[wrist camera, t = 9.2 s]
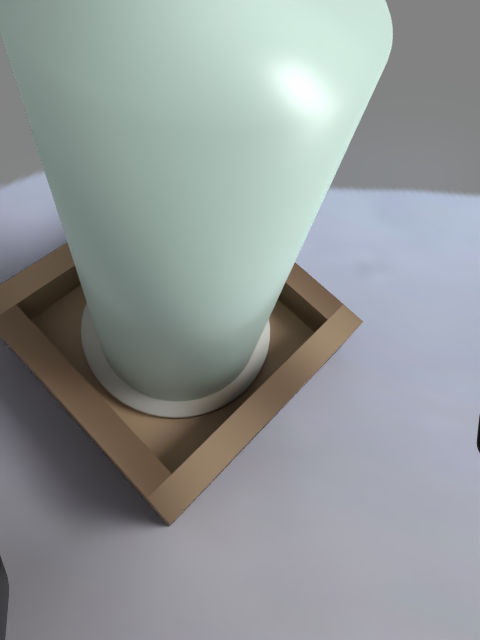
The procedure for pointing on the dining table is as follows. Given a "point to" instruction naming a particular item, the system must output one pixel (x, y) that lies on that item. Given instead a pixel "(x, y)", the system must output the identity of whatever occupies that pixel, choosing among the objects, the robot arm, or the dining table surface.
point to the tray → (154, 414)
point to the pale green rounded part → (190, 160)
